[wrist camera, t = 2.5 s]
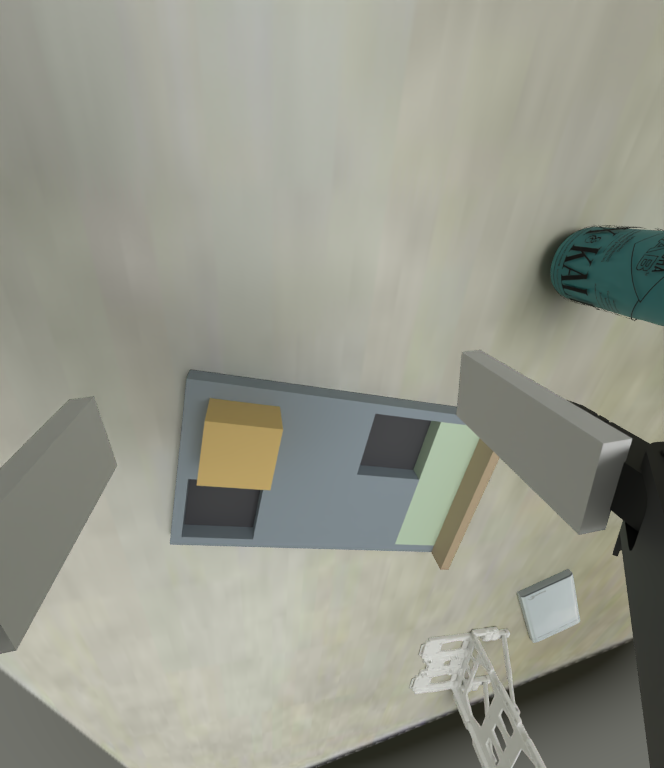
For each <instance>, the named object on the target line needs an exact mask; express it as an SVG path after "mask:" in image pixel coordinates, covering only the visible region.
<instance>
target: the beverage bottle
mask: <svg viewBox="0 0 664 768" xmlns="http://www.w3.org/2000/svg"><path fill="white" fill-rule="evenodd" d="M589 227H590V226H589ZM606 227H607V226H606ZM606 227H601V226H600V227H595V226H594V225H593V227H590V228H587V227H586V229H582V230H579V231H577V232H575V233H573V234H572V235H570V236H569V237H568V238H567V239H566V240H565V241H564V242H563V243H562V244H561V245H560V247H559V248H558V250H557V251H556V253H555V255H554V258H553V261H552V264H551V272H550V274H551V281H552V284H553V286H554V288H555V289H556V290H557V292H558V293H560V294H561V295H562V296H564V297H566V299H567V298H568V299H570V300H573V301H576V302H580V304H581V303H583V305H585V304H586V305H589V306H593V308H594V307H595V308H596V307H598V308H601V309H605V310H608V311H611V312H615V313H618V314H621V315H624V316H628V317H631V319H632V318H635V320H637V319H639V320H644V321H647V322H651V323H654V324H658V325H661V326H664V230H662V231H660V230H661V229H660V230H658V229H657V230H658V231H656V230H639V229H629V228H641V227H626V226H624V227H621V228H619V227H617V228H606ZM609 227H610V226H609ZM614 227H615V226H614ZM564 299H565V298H564ZM568 301H569V300H568ZM573 301H572V302H573ZM576 302H575V303H576ZM578 304H579V303H578ZM581 305H582V304H581ZM596 309H597V308H596ZM598 310H599V309H598ZM603 311H604V310H603ZM606 312H607V311H606ZM618 314H616V315H618ZM619 316H620V315H619ZM626 318H627V317H626ZM629 319H630V318H629ZM635 320H634V321H635Z"/></svg>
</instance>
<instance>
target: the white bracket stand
mask: <svg viewBox="0 0 664 768" xmlns="http://www.w3.org/2000/svg"><path fill="white" fill-rule="evenodd" d="M503 630H504V631H503ZM509 635H510V632H509V631H508V629H499V630H498V628H497V627H496V626H495V627H487V628H480V629H472V631H471V632H469V633H461V634H454V635H446V636H439V637H431V638H429V639H428V640H427V641H425V644H422V645H421V649H420V652H419V656H421V658H422V659H423V663H425V664H426V668H425V669H421V670H420V672H419V674H418V675H415V678H412V681H413V680H414V682H413V686H412V687H411V685H412V681H411V684H410V689H411V688H412V691H414V694H420V693H426V692H436V691H442V690H449V689H452V691H453V694H454V695H453V698H454V700H455V703H456V705H457V708H458V710H459V713H460V715H461V717H462V720H463V722H464V725H465V727H466V729H467V730H469V732H470V734H471V737H472V739H473V742H472V744H473V747H474V749H475V751H476V754H477V756H478V759H479V761H480V764H481V766H482V768H512V767H513V765H514V763H515V761H516V760H517V758H518V756H519V754H520V752H521V750H523V751H524V753H525V754H526V755H527V756H528V758H529V759H530V760H531V761H532V762H533V764H534V765H535V767H536V768H546V766H545V764H544V762H543V760H542V759H541V757H540V755H539V753H538V751H537V749H536V747H535V745H534V744H533V741H532V740H531V738H529V735H527V732H526V730H525V729H524V727H523V724H522V721H521V719H520V717H519V714H520V710H519V709H518V707H517V705H516V704H515V698H514V691H513V684H512V672H511V665H510V658H509V652H508V645H507V638H508V637H509ZM477 636H480V638H481V639H482V641H490V640H497V639H501V638H502V645H503V652H504V660H505V667H506V674H507V679H508V684H509V691H510V698H511V700H510V698H509V696H508V694H507V692H506V690H505V688H504V686H503V684H502V683H501V682H500V680H499V679H498V677H497V675H496V673H495V671H494V667H493V665H492V663H491V662H490V660H489V658H488V656H487V654H486V652H485V650H484V648H483V646H482V644H481V643H480V641H479V639H478V637H477ZM453 641H463V643H462V646H461V648H457V649H453V650H441V647H442V644H444V643H449V642H453ZM422 646H424V647H423V651H422V654H420V653H421V650H422ZM474 647H475V649H476V651H477V653H478V655H477V657H476V660H475V658H474V657H473V655H472V652H473V650H474ZM470 658H471V659H472V662H473V663H474V665H473V668H472V671H471V669H470V667H469V664H468V663H469V661H470ZM449 660H450V662H449V664H444V662H445V661H449ZM479 664H480V665H481V666H482V667H483V668H484V669H485V670H486V671H487V672H488V675H485V676H479V677H475V674H476V671H477V669H478V666H479ZM466 670H467V672H468V675H469V678H466V679H465V677H464V674H465V672H466ZM445 674H448V675H451V678H450V680H448V681H444V682H438V683H430V682H431V678H432V677H436V676H440V675H445ZM462 680H463V683H462ZM490 681H491V685H492V688H493V692H494V695H495V696H494V698H493V701H492V703H491V705H490V708H489V697H488V685H487V684H490ZM461 683H462V684H461ZM479 685H483V692H484V704H485V719H484V722H483V724H482V726H480V725H479V724H478V722H477V721H476V720H475V718H474V717H473V715H472V711H471V707H470V703H469V699H468V692H470V691H471V690H472V691H476V690H477V689H478V686H479ZM463 691H464V692H463ZM503 710H504V711H505V713H506V714H507V716H508V718H509V720H510V723H511V725H512V727H513V730H514V732H513V734H512V736H511V737H510V735H509V734H508V732H507V730H506V728H505V725H504V722H503V720H502V717H501V713H502V711H503ZM469 722H470V723H469ZM496 725H497V726H498V728H499V730H500V731H501V733H502V736H503V738H504V741H505V744H506V748H505V750H504V752H503V751H502V749H501V747H500V744H499V741H498V739H497V736H496V734H495V731H494V729H495V726H496ZM492 744H493V745H494V747H495V750H496V752H497V755H498V758H499V763H498V765H497V766H496V764H495V763H496V762H497V760H496V758H495V756H494V753H493V749H492ZM488 745H489V746H488Z"/></svg>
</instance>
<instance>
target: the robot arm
mask: <svg viewBox="0 0 664 768" xmlns="http://www.w3.org/2000/svg"><path fill="white" fill-rule="evenodd" d="M457 416H458V417H459V418H460V419H461V420H462V421H463V422H464V423H465V424H466V425H467V426H468V427H469V428H470V429H471V430H472V431H473V432H474V433H475V434H476V435H477V436H478V437H479V438H480V439H481V440H482V441H483V442H484V443H485V444H486V445H487V446H488V447H489V448H490V449H491V450H492V451H493V452H495V453H496V454H497V455H498V456H499V457H500V458H501V459H502V460H503V461H504V462H505V463H506V464H507V465H508V466H509V467H510V468H511V469H512V470H513V471H514V472H515V473H516V474H517V475H518V476H519V477H520V478H521V479H522V480H523V481H524V482H525V483H526V484H527V485H528V486H529V487H530V488H531V489H532V490H534V491H535V492H536V493H537V494H538V495H539V496H540V497H541V498H542V499H543V500H544V501H545V502H546V503H547V504H548V505H549V506H550V507H551V508H552V509H553V510H554V511H555V512H556V513H557V514H558V515H559V516H560V517H561V518H562V519H563V520H564V521H565V522H566V523H567V524H568V525H569V526H570V527H571V528H573V529H574V530H575V531H576V532H577V533H578V534H579V535H581V534H586V533H590V532H595V531H600V530H605V528H606V525H607V522H608V518H609V515H610V512H611V510H612V511H613V512H614V513H615V514H616V515H618V516H619V517H620V518H621V519H623V522H622V526H621V529H620V532H619V535H618V538H617V541H616V544H615V547H614V551H613V555H615V556H618V554H619V551H620V550H622V554H623V562H624V570H625V577H626V585H627V593H628V600H629V608H630V616H631V624H632V631H633V639H634V647H635V654H636V661H637V669H638V676H639V685H640V693H641V701H642V709H643V716H644V723H645V732H646V739H647V747H648V754H649V762H650V768H664V442H654V443H651V444H649V443H647V442H646V441H644V440H642V439H640V438H639V437H637V436H635V435H634V434H632V433H630V432H628V431H627V430H625V429H623V428H621V427H620V426H618V425H616V424H614V423H613V422H609V420H607V419H606V418H604V417H602V416H600V415H599V416H598V415H597V413H595V412H593V411H592V410H590V409H588V408H586V407H585V406H583V405H580V404H577V403H574V402H571V401H568V400H566V399H564V398H562V397H560V396H559V395H557V394H555V393H554V392H552V391H550V390H548V389H547V388H545V387H543V386H542V385H540V384H538V383H536V382H535V381H533V380H531V379H530V378H528V377H526V376H524V375H523V374H521V373H519V372H518V371H516V370H514V369H512V368H511V367H509V366H507V365H506V364H504V363H502V362H500V361H499V360H497V359H495V358H494V357H492V356H490V355H489V354H487V353H485V352H483V351H482V350H474V351H466V352H462V355H461V367H460V379H459V391H458V403H457ZM116 466H117V463H116V460H115V457H114V454H113V451H112V448H111V445H110V443H109V440H108V437H107V434H106V431H105V428H104V425H103V422H102V419H101V416H100V413H99V410H98V407H97V404H96V401H95V398H94V397H86V398H78V399H70V400H68V401H67V402H66V403H65V404H64V405H63V406H62V407H61V408H60V409H59V410H58V411H57V412H56V413H55V414H54V415H53V416H52V417H51V418H50V419H49V420H48V421H47V422H46V423H45V424H44V425H43V426H42V427H41V428H40V429H39V430H38V431H37V432H36V433H35V434H34V435H33V436H32V437H31V438H30V439H29V440H28V441H27V442H26V443H25V444H24V445H23V446H22V447H21V448H20V449H19V450H18V451H17V452H16V453H15V454H14V455H13V456H12V457H11V458H10V459H9V460H8V461H7V462H6V463H5V464H4V465H3V466H2V467H1V468H0V654H1V653H6V652H11V651H16V650H17V648H18V646H19V645H20V643H21V641H22V639H23V637H24V635H25V634H26V632H27V630H28V628H29V626H30V624H31V623H32V621H33V619H34V617H35V615H36V613H37V612H38V610H39V608H40V606H41V604H42V602H43V601H44V599H45V597H46V595H47V593H48V591H49V589H50V588H51V586H52V584H53V582H54V580H55V578H56V577H57V575H58V573H59V571H60V569H61V567H62V566H63V564H64V562H65V560H66V558H67V556H68V555H69V553H70V551H71V549H72V547H73V545H74V544H75V542H76V540H77V538H78V536H79V534H80V533H81V531H82V529H83V527H84V525H85V523H86V522H87V520H88V518H89V516H90V514H91V512H92V510H93V509H94V507H95V505H96V503H97V501H98V499H99V498H100V496H101V494H102V492H103V490H104V488H105V487H106V485H107V483H108V481H109V479H110V477H111V476H112V474H113V472H114V470H115V468H116Z"/></svg>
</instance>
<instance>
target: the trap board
mask: <svg viewBox="0 0 664 768" xmlns="http://www.w3.org/2000/svg"><path fill="white" fill-rule="evenodd" d="M210 398H214V399H222V400H230V401H238V402H246V403H254V404H262V405H270V406H279V407H280V411H281V418H282V425H283V433H282V438H281V442H280V447H279V452H278V456H277V461H276V466H275V471H274V475H273V480H272V485H271V490H257V489H242V488H227V487H212V486H197V478H198V470H199V462H200V454H201V446H202V438H203V430H204V422H205V417H206V413H207V408H208V404H209V399H210ZM499 458H500V457H499V456H498V455H497V454H496V453H495V452H493V451H492V450H491V449H490V448H489V447H488V446H487V445H486V444H485V443H484V442H483V441H482V440H481V439H480V438H479V437H478V436H477V435H476V434H475V433H474V432H473V431H472V430H471V429H470V428H469V427H468V426H467V425H466V424H465V423H464V422H463V421H462V420H461V419H460V418H459V417H458V416H457V407H454V406H447V405H440V404H433V403H426V402H419V401H411V400H404V399H397V398H390V397H383V396H376V395H368V394H361V393H354V392H347V391H340V390H333V389H326V388H318V387H311V386H304V385H297V384H290V383H283V382H275V381H268V380H261V379H254V378H247V377H240V376H233V375H225V374H218V373H211V372H204V371H197V370H190V371H189V374H188V376H187V380H186V389H185V399H184V409H183V419H182V429H181V439H180V449H179V459H178V468H177V478H176V488H175V498H174V508H173V518H172V528H171V538H170V544H173V545H208V546H243V547H277V548H312V549H347V550H381V551H416V552H432V554H433V556H434V558H435V560H436V562H437V564H438V566H439V568H440V570H448V569H449V567H450V565H451V563H452V561H453V558H454V556H455V554H456V552H457V550H458V547H459V545H460V543H461V541H462V539H463V536H464V534H465V532H466V530H467V528H468V526H469V523H470V521H471V519H472V517H473V515H474V512H475V510H476V508H477V506H478V504H479V502H480V499H481V497H482V495H483V493H484V491H485V488H486V486H487V484H488V482H489V480H490V477H491V475H492V473H493V471H494V469H495V467H496V464H497V462H498V460H499Z"/></svg>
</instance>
